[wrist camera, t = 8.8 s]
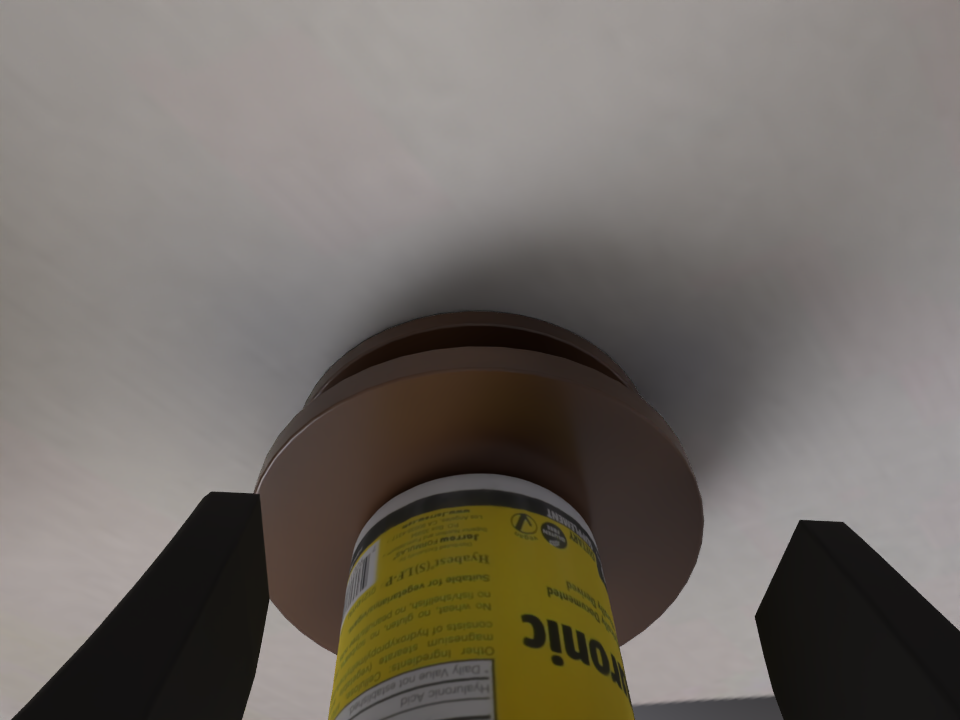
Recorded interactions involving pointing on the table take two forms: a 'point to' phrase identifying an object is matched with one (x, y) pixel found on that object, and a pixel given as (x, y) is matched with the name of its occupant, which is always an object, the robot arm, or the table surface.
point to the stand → (477, 457)
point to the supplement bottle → (478, 610)
